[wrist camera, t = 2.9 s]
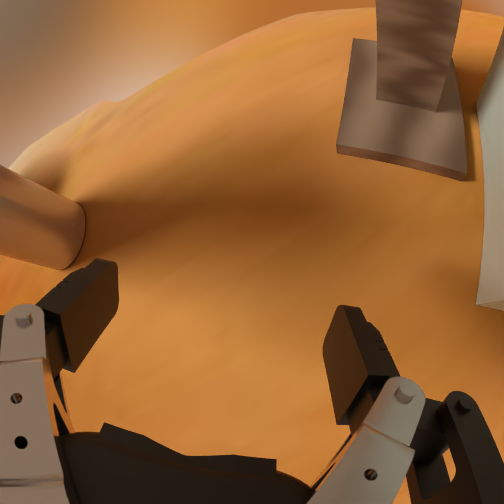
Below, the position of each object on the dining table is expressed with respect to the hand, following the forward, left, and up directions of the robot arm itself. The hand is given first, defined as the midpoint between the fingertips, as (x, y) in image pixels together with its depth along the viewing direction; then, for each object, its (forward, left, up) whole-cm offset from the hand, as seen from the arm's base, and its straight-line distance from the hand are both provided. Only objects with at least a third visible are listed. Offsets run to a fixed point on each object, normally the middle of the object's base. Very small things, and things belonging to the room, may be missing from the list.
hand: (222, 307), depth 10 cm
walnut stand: (+7, +23, -14) cm, 27 cm away
